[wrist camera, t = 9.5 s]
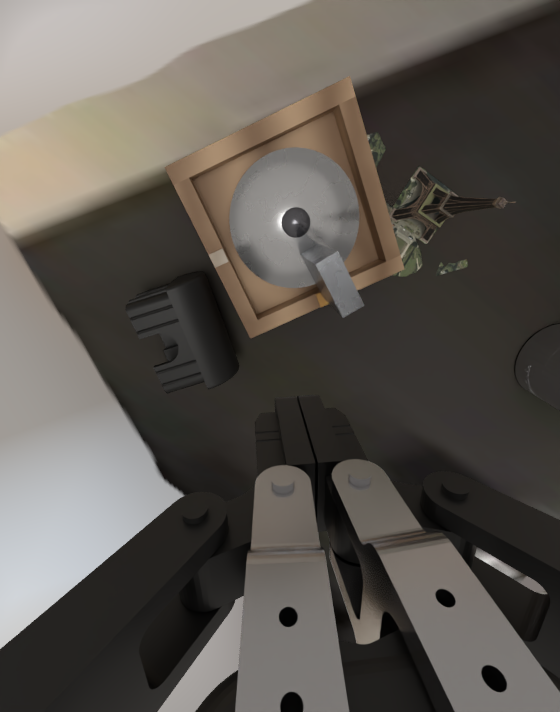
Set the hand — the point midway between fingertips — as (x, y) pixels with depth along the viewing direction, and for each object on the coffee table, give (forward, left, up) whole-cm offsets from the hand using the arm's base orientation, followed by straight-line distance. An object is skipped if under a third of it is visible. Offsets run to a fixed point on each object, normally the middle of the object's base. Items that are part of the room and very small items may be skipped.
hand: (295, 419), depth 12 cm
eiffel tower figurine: (-18, 0, -27) cm, 32 cm away
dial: (-5, -4, -24) cm, 24 cm away
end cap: (+8, +1, -26) cm, 28 cm away
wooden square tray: (-5, -4, -26) cm, 27 cm away
